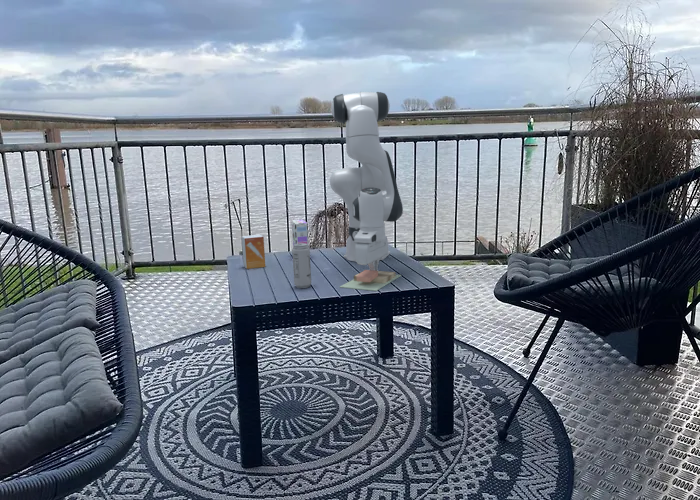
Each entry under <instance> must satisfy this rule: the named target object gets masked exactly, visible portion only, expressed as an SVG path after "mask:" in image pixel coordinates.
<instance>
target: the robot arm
mask: <svg viewBox="0 0 700 500" xmlns="http://www.w3.org/2000/svg"><path fill="white" fill-rule="evenodd" d="M390 104H391V103H390V101H389V98H388V96H387V94H386V93H385V92H381V91H376V92H374V91H373V92H372V91H360V92H352V93H345V94H343V93H340V94H337V95H334V97H333V98H332V103H331V105H330V110H331V111H330V112H331V115H332V117H333V119H334V121H335V122H337V123H341V124H343V125H345V146H346V155H348V157H349V158H351V159H352V160H354V161H356V162H358V163H360V164H361V166H360V167H344V168H339V169H335V170H334V171H333V172H332V173H331V174H330V178H329V186H330V188H331V190H332V191H333V192H334V193H335V194H337V195H338V196H339V197H340V198H341V199H342V200H343V202H344V203H345V205H346V208H347V213H348V214H347V215H348V224H349V225H348V230H347V231H348V235H349V236H348V238H346V244H345V245H346V246H345V247H346V248H345V252H346V253H345V254H344V255H343V258H344V259H346V260H347V261H351V262H356V264H357V265H359V266H368V268H369V270H373V271H379V270H378V267H379V264H380V263H379V262H380V261H383V260H386V258H387V257H388V256H389V255H391V251H390V250H389V249H390V248H389V240H388V236H386V231H385V230H386V227H385V222H390V223H391V222H392V223H393V222H394V223H395V222H397V221H398V220H399V219H400V218H401V217H402V216H403V213H404V211H403V210H404V206H403V202H402V199H401V195H400V193H399V188H398V184H397V180H396V175H395V170H394V165H393V163H392V159H391V156H390V153H389V151H387V150H386V149H384V148H383V146H382V145H381V142H380V141H381V140H380V132H379V125H378V122H380V121H382V120H385V119H386V118H387V117H388V114H389V113H390V107H391V105H390ZM383 192H386V194H383Z"/></svg>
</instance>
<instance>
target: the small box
mask: <svg viewBox="0 0 700 500" xmlns="http://www.w3.org/2000/svg"><path fill="white" fill-rule="evenodd" d="M241 248H242V262H243V267H244V268H245V269H246V270H250V269H257V268H258V269H259V268H266V252H265V238H264V236H263V235H262V234H254V235H252V234H251V235H244V236H243V235H242V236H241Z"/></svg>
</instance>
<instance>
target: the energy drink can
mask: <svg viewBox="0 0 700 500" xmlns="http://www.w3.org/2000/svg"><path fill="white" fill-rule="evenodd" d="M292 247H293V246H292ZM291 251H292V269H293V270H292V271H293V282H294V283H293V284H294V286H295V287H296V288H297V289H307V288H310V287H311V285H312V270H311V269H312V267H311V254H310V253H311V251H310V246H309V247H308V244H306V243H299V244H294V247H293V248H292V250H291Z"/></svg>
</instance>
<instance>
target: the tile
mask: <svg viewBox="0 0 700 500" xmlns="http://www.w3.org/2000/svg"><path fill="white" fill-rule="evenodd" d="M378 271H379V270H378ZM378 271H373V270H370V269H364V270H363V271H361V272H362V273H361V272H359V273H360V274H359V273H358V274H359V275H358V276H356V278H357V281H360V282H371V281H372V280H373V279H375V278H376V277H377V276H378Z"/></svg>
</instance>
